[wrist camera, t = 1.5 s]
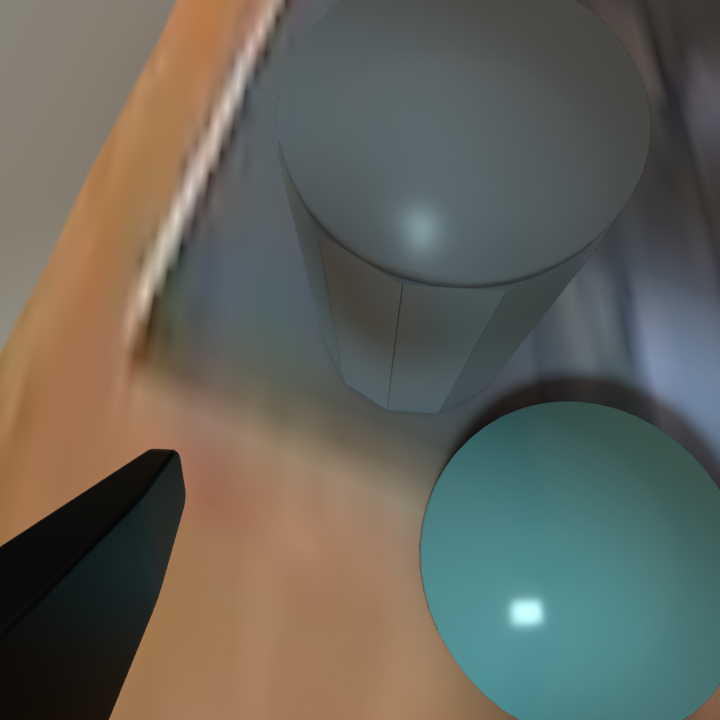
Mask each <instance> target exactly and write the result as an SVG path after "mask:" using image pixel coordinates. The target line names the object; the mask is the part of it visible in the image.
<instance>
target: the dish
mask: <svg viewBox="0 0 720 720" xmlns="http://www.w3.org/2000/svg"><path fill="white" fill-rule="evenodd" d="M419 556H420V572H421V579H422V586H423V590H424V594H425V598H426V601H427V605H428V609H429V611H430V614H431V616H432V619H433V621H434V624H435V626H436V628H437V631H438V632H439V634H440V636H441V638H442V640H443V641H444V643H445V645H446V647H447V648H448V650H449V652H450V653H451V655H452V656H453V658H454V659H455V660H456V662H457V663H458V665H459V666H460V667H461V669H462V670H463V671H464V673H465V674H466V676H467V677H468V678H469V679H470V680H471V681H472V682H473V683H474V684H475V685H476V686H477V687H478V689H479V690H480V691H481V692H482V693H483V694H484V695H485V696H487V697H488V698H489V699H490V700H491V701H493V702H494V703H495V704H496V705H498V706H499V707H500V708H501V709H502V710H504V711H506V712H507V713H509V714H510V715H512V716H513V717H515V718H517V719H518V720H684V719H685V718H687V717H688V716H689V715H691V714H692V713H694V712H695V711H696V710H697V709H698V708H699V707H700V706H701V705H703V704H704V703H705V702H706V701H707V700H708V699H709V698H710V697H711V696H712V694H713V693H714V692H715V690H716V689H717V688H718V687H719V685H720V490H719V488H718V487H717V485H716V484H715V482H714V481H713V480H712V478H711V477H710V476H709V474H708V473H707V472H706V470H705V469H704V468H703V467H702V466H701V465H700V463H699V462H698V461H697V460H696V459H695V458H694V457H693V456H692V455H691V454H690V453H689V452H688V451H687V450H686V449H685V448H684V447H682V446H681V445H680V444H679V443H678V442H677V441H675V440H674V439H673V438H672V437H670V436H669V435H667V434H666V433H664V432H663V431H661V430H660V429H659V428H657V427H656V426H654V425H652V424H650V423H648V422H646V421H644V420H642V419H641V418H639V417H637V416H634V415H632V414H629V413H626V412H624V411H621V410H619V409H615V408H611V407H608V406H604V405H600V404H594V403H586V402H578V401H558V402H550V403H542V404H537V405H533V406H529V407H525V408H522V409H519V410H516V411H514V412H511V413H509V414H507V415H504V416H502V417H500V418H499V419H497V420H495V421H494V422H492V423H490V424H488V425H487V426H485V427H484V428H483V429H481V430H480V431H479V432H478V433H476V434H475V435H474V436H473V437H471V438H470V439H469V440H468V441H467V442H466V443H465V444H464V445H463V446H462V447H461V448H460V449H459V450H458V451H457V452H456V453H455V454H454V455H453V457H452V458H451V459H450V461H449V462H448V463H447V465H446V466H445V468H444V469H443V470H442V472H441V474H440V476H439V478H438V479H437V481H436V483H435V485H434V487H433V489H432V492H431V494H430V497H429V500H428V502H427V505H426V508H425V512H424V517H423V521H422V525H421V534H420V544H419Z"/></svg>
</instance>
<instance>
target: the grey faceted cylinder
mask: <svg viewBox="0 0 720 720" xmlns="http://www.w3.org/2000/svg"><path fill="white" fill-rule="evenodd" d="M278 125H279V134H280V141H279V149H278V160H279V164H280V168H281V172H282V176H283V180H284V184H285V188H286V192H287V196H288V200H289V204H290V208H291V212H292V216H293V220H294V224H295V228H296V232H297V236H298V240H299V244H300V248H301V252H302V256H303V260H304V264H305V268H306V272H307V276H308V280H309V284H310V288H311V292H312V296H313V300H314V304H315V308H316V312H317V315H318V319H319V323H320V327H321V331H322V335H323V339H324V342H325V344H326V346H327V348H328V350H329V352H330V354H331V356H332V358H333V360H334V362H335V364H336V366H337V368H338V370H339V372H340V374H341V376H342V378H343V380H344V382H345V383H346V384H347V385H349V386H350V387H352V388H353V389H355V390H356V391H358V392H359V393H361V394H362V395H364V396H365V397H367V398H369V399H370V400H372V401H373V402H375V403H376V404H378V405H379V406H381V407H382V408H384V409H385V410H388V411H403V412H419V413H434V414H438V413H440V412H442V411H444V410H446V409H448V408H450V407H452V406H455V405H457V404H459V403H461V402H463V401H465V400H467V399H469V398H471V397H473V396H475V395H477V394H479V393H481V392H483V390H484V389H485V388H486V387H487V385H488V384H489V383H490V382H491V380H492V379H493V378H494V377H495V375H496V374H497V373H498V372H499V370H500V369H501V368H502V367H503V365H504V364H505V363H506V362H507V360H508V359H509V358H510V356H511V355H512V354H513V353H514V351H515V350H516V349H517V348H518V346H519V345H520V344H521V343H522V341H523V340H524V339H525V338H526V336H527V335H528V334H529V333H530V331H531V330H532V329H533V328H534V326H535V325H536V324H537V323H538V321H539V320H540V319H541V318H542V316H543V315H544V314H545V313H546V311H547V310H548V309H549V308H550V306H551V305H552V304H553V302H554V301H555V300H556V299H557V297H558V296H559V295H560V294H561V292H562V291H563V290H564V289H565V287H566V286H567V285H568V284H569V282H570V281H571V280H572V279H573V277H574V276H575V275H576V274H577V272H578V271H579V270H580V269H581V267H582V266H583V265H584V264H585V262H586V261H587V260H588V259H589V257H590V256H591V255H592V253H593V252H594V251H595V250H596V248H597V247H598V245H599V244H600V242H601V240H602V239H603V237H604V236H605V234H606V232H607V231H608V229H609V227H610V226H611V224H612V223H613V221H614V219H615V218H616V216H617V215H618V213H619V212H620V211H621V209H622V208H623V207H624V205H625V204H626V203H627V201H628V200H629V198H630V197H631V195H632V193H633V191H634V189H635V187H636V186H637V184H638V182H639V180H640V178H641V176H642V172H643V169H644V166H645V163H646V160H647V156H648V149H649V143H650V111H649V105H648V99H647V94H646V91H645V88H644V85H643V82H642V79H641V76H640V74H639V72H638V70H637V68H636V66H635V64H634V62H633V60H632V57H631V56H630V54H629V53H628V52H627V50H626V49H625V47H624V46H623V44H622V43H621V41H620V40H619V39H618V38H617V36H616V35H615V34H614V33H613V32H612V31H611V30H610V28H609V27H608V26H607V25H606V24H605V23H604V22H603V21H602V20H600V19H599V18H598V17H597V16H596V15H595V14H594V13H593V12H591V11H590V10H589V9H588V8H586V7H585V6H583V5H582V4H580V3H579V2H578V1H576V0H342V1H341V2H340V3H338V4H337V5H336V6H335V7H333V8H332V9H331V10H330V11H328V12H327V13H326V14H325V15H324V16H323V17H322V18H321V19H320V20H319V21H318V22H317V23H316V24H315V25H314V26H313V27H312V28H311V29H310V31H309V32H308V33H307V35H306V36H305V37H304V39H303V40H302V41H301V43H300V44H299V46H298V48H297V50H296V52H295V53H294V55H293V57H292V59H291V61H290V63H289V66H288V68H287V71H286V74H285V76H284V79H283V83H282V88H281V92H280V97H279V110H278Z"/></svg>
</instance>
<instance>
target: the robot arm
mask: <svg viewBox="0 0 720 720" xmlns="http://www.w3.org/2000/svg"><path fill="white" fill-rule="evenodd" d="M185 497H186V494H185V485H184V479H183V473H182V466H181V460H180V456H179V454H178V452H176V451H175V450H169V449H150V450H148V451H146V452H145V453H143V454H142V455H140V456H138V457H137V458H135V459H134V460H132V461H131V462H129V463H128V464H126V465H125V466H123V467H122V468H120V469H119V470H117V471H115V472H114V473H112V474H111V475H109V476H108V477H106V478H105V479H103V480H102V481H100V482H99V483H97V484H96V485H94V486H93V487H91V488H89V489H88V490H86V491H85V492H83V493H82V494H80V495H79V496H77V497H76V498H74V499H73V500H71V501H70V502H68V503H66V504H65V505H63V506H62V507H60V508H59V509H57V510H56V511H54V512H53V513H51V514H50V515H48V516H47V517H45V518H43V519H42V520H40V521H39V522H37V523H36V524H34V525H33V526H31V527H30V528H28V529H27V530H25V531H24V532H22V533H21V534H19V535H17V536H16V537H14V538H13V539H11V540H10V541H8V542H7V543H5V544H4V545H2V546H1V547H0V720H109V718H110V716H111V713H112V711H113V708H114V706H115V703H116V701H117V699H118V696H119V694H120V691H121V689H122V686H123V684H124V681H125V679H126V676H127V674H128V671H129V669H130V667H131V664H132V662H133V659H134V657H135V654H136V652H137V649H138V647H139V644H140V642H141V640H142V637H143V635H144V632H145V630H146V627H147V625H148V622H149V620H150V617H151V615H152V613H153V610H154V607H155V605H156V602H157V599H158V597H159V593H160V590H161V587H162V584H163V580H164V577H165V573H166V570H167V566H168V562H169V559H170V555H171V552H172V548H173V545H174V541H175V537H176V534H177V530H178V527H179V523H180V520H181V516H182V512H183V509H184V505H185Z"/></svg>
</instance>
